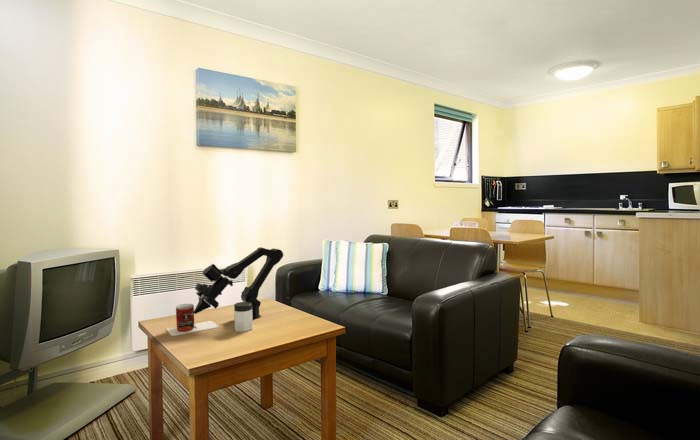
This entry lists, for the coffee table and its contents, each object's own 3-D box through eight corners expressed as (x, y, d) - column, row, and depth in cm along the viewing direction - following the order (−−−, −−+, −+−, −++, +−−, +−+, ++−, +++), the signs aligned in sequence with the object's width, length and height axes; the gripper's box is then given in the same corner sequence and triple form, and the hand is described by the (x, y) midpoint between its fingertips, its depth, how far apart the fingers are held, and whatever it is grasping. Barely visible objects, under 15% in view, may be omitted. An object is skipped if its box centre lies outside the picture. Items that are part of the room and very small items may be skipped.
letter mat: (211, 321, 193) (211, 320, 193) (219, 327, 183) (219, 326, 183) (166, 329, 180) (166, 328, 180) (171, 336, 170) (171, 335, 170)
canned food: (177, 332, 174) (176, 309, 174) (175, 327, 181) (175, 304, 181) (195, 329, 178) (194, 306, 177) (193, 325, 185) (192, 302, 184)
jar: (253, 331, 177) (253, 305, 177) (235, 333, 175) (234, 307, 174) (251, 325, 186) (251, 300, 185) (234, 327, 183) (233, 302, 183)
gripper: (200, 274, 192) (176, 299, 186) (211, 280, 177) (186, 307, 171) (216, 288, 197) (193, 312, 191) (228, 294, 182) (204, 321, 176)
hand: (194, 313), depth 182 cm, fingers closed, pressing on canned food
